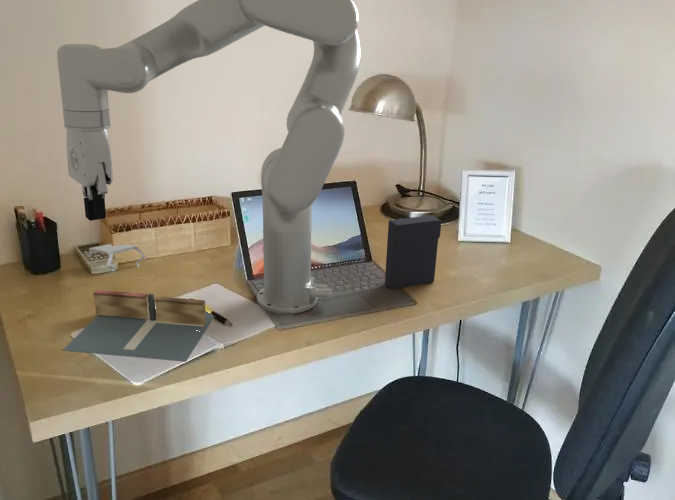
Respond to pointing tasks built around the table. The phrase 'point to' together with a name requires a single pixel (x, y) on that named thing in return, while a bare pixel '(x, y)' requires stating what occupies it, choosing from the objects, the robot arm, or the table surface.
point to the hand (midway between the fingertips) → (95, 218)
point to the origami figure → (115, 252)
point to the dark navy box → (412, 251)
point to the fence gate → (121, 304)
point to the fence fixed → (177, 310)
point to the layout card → (139, 338)
